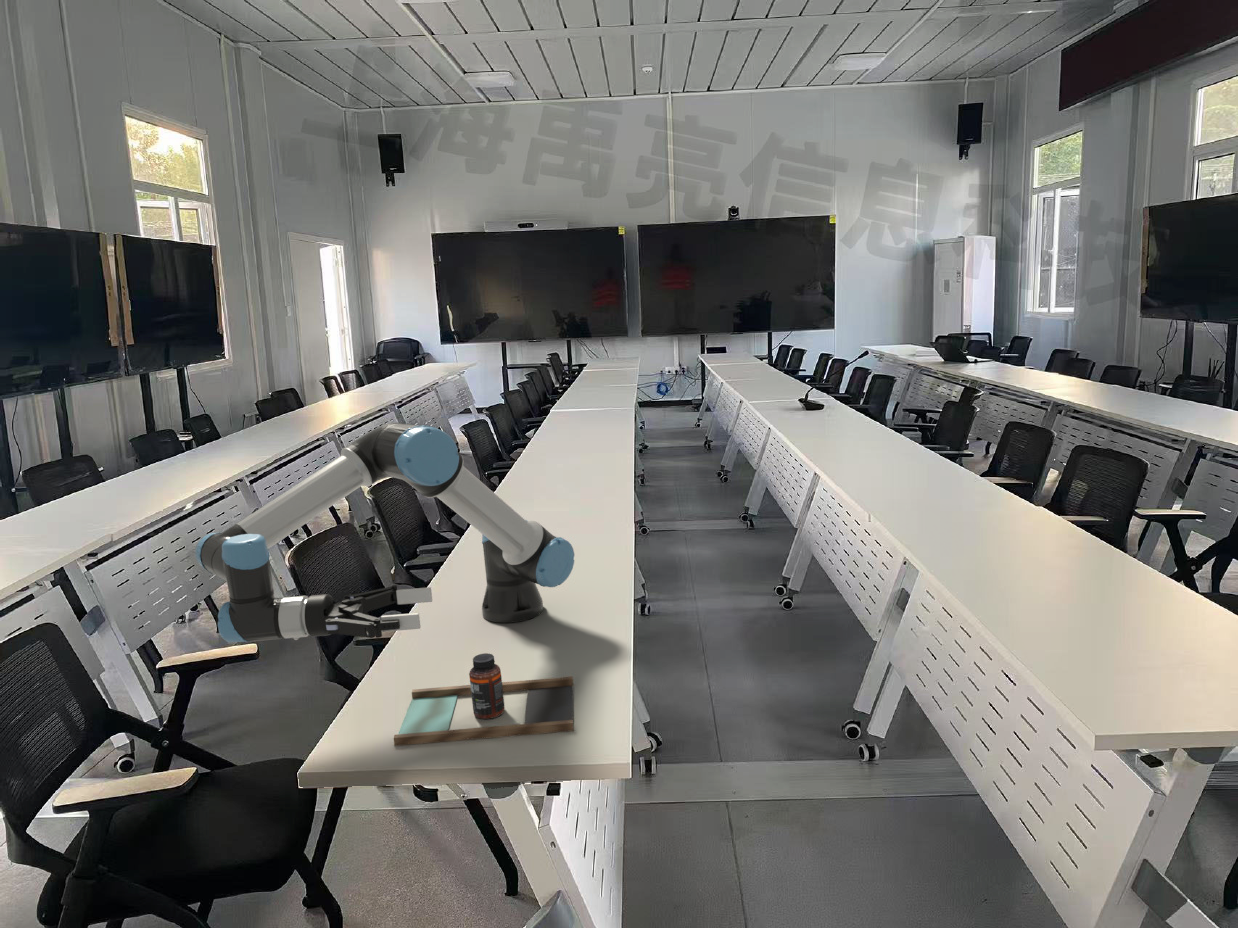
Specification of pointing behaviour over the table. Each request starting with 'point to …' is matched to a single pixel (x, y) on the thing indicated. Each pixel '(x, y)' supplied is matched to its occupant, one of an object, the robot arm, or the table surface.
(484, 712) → the supplement bottle
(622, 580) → the table surface
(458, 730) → the channel track
